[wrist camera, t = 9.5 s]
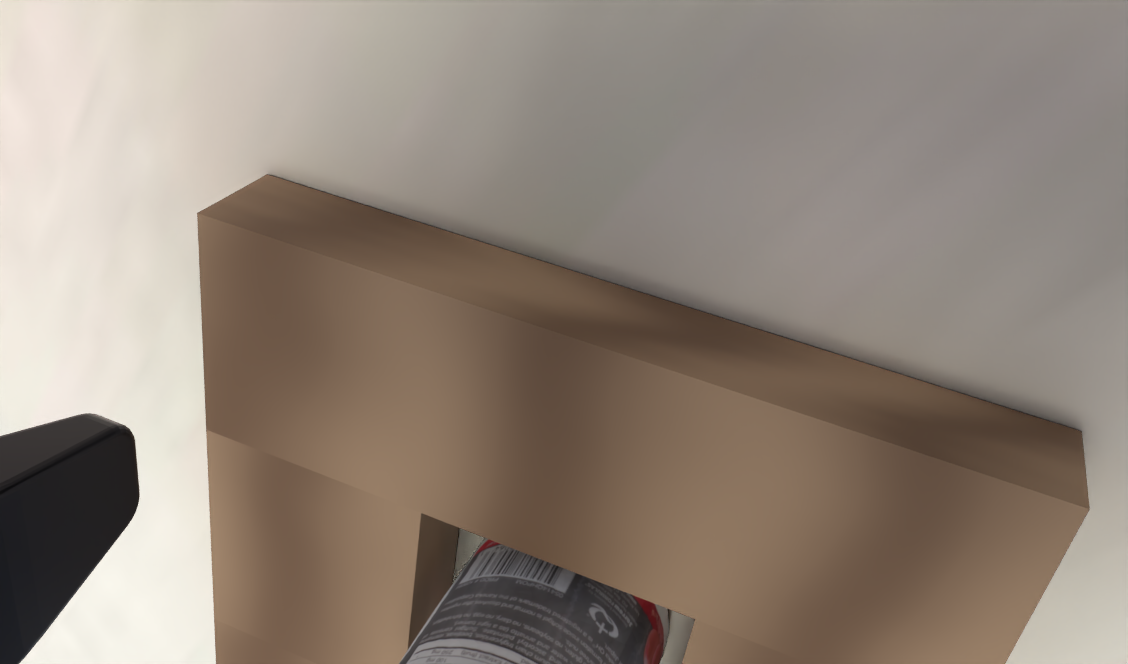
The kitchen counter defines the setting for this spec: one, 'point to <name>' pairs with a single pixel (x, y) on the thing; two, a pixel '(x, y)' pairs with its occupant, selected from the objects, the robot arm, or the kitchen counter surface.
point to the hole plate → (587, 455)
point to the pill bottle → (536, 617)
